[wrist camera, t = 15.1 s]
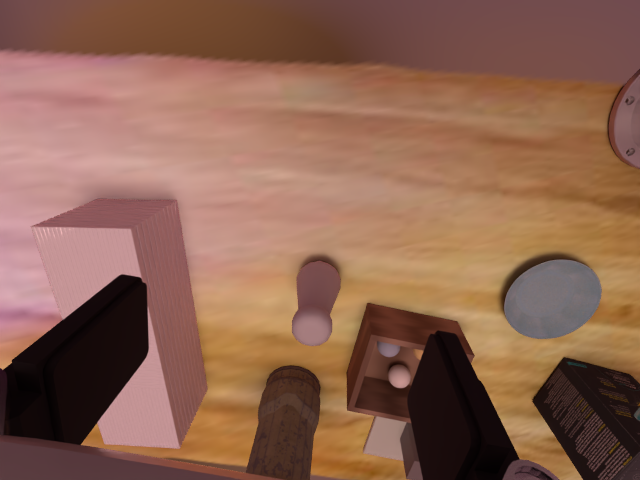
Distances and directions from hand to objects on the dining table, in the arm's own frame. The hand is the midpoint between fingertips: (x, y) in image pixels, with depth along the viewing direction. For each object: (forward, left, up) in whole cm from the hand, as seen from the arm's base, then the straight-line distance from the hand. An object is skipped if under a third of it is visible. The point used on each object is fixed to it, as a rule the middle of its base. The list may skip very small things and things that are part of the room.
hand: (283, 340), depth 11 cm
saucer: (-32, +11, -33) cm, 47 cm away
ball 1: (-14, +22, -32) cm, 41 cm away
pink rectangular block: (+20, +25, -33) cm, 46 cm away
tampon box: (-44, +25, -33) cm, 60 cm away
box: (-16, +24, -33) cm, 44 cm away
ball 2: (-17, +27, -32) cm, 45 cm away
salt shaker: (-2, +15, -33) cm, 36 cm away
